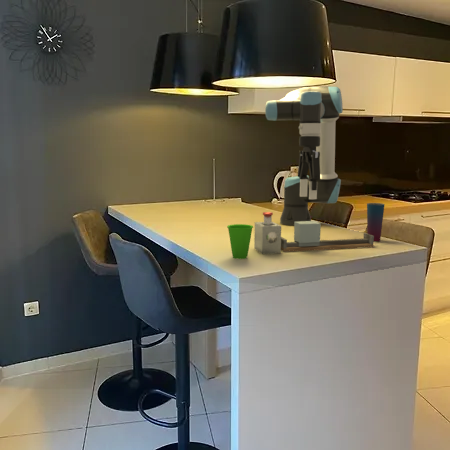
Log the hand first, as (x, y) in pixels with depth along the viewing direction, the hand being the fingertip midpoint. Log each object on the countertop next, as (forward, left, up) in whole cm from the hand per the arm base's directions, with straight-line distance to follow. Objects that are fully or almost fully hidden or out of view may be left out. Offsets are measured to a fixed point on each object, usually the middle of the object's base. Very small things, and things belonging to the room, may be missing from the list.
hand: (308, 197), depth 185 cm
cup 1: (+8, -28, -20) cm, 35 cm away
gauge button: (0, -16, -13) cm, 20 cm away
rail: (0, +8, -19) cm, 21 cm away
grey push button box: (0, -16, -19) cm, 25 cm away
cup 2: (-9, +33, -20) cm, 39 cm away
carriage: (0, 0, -18) cm, 18 cm away
